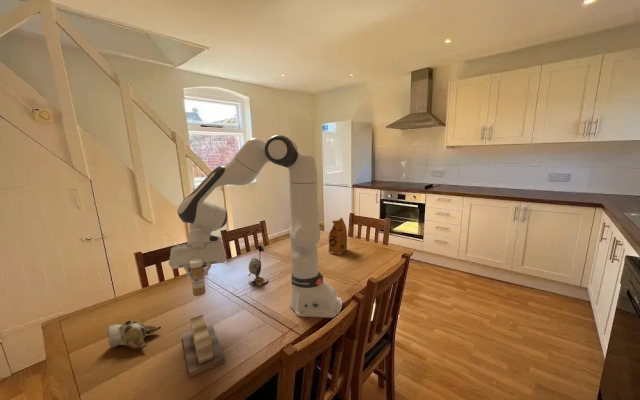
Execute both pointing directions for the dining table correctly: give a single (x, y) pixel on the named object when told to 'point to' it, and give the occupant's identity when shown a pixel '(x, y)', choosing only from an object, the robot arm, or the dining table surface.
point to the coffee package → (338, 237)
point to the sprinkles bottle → (197, 277)
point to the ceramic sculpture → (129, 334)
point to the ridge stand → (201, 347)
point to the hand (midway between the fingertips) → (197, 276)
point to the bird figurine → (256, 269)
